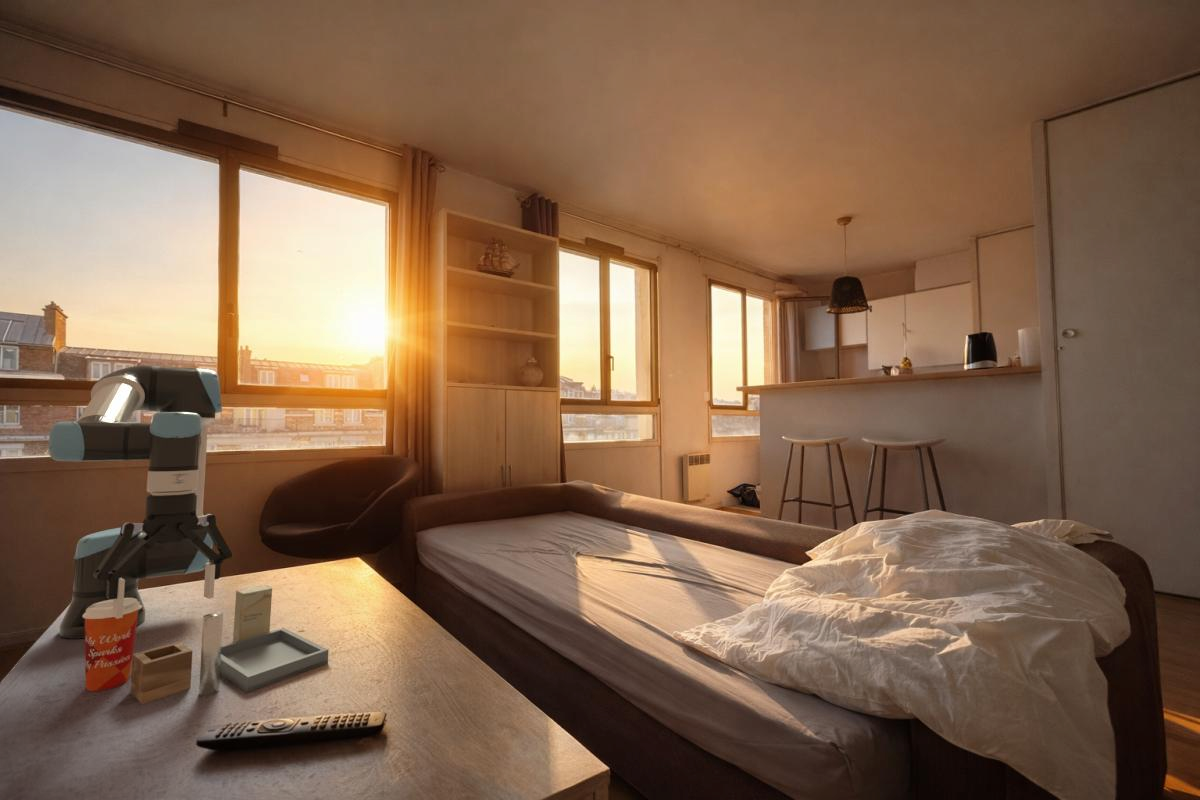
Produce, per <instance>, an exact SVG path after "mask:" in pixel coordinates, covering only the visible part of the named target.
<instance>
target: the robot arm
mask: <svg viewBox="0 0 1200 800" xmlns="http://www.w3.org/2000/svg"><path fill="white" fill-rule="evenodd" d="M90 399H91V400H90V401H89V403H88V404H87V406H86V407H85V409H84V410H83V411H82V413H81V415H80V416H79V418H78V420H77V421H76V420H70V421H59V422H55V423H54V424H53V425H52V427H51V429H50V431H49V438H48V452H49V456H50V458H51V459H53V460H54V461H57V462H75V463H81V462H105V461H106V462H107V461H112V462H113V461H114V462H115V461H148V469H147V471H148V472H147V480H146V492H148V493H150V494H149V495H147V496H146V497H145V513H144V514H145V515H144V520H143V521H142V522H128V521H124V522H123V523H122V524H121V525H120V527H116V528H111V529H106V530H102V531H97V532H94V533H90V534H88V535H85V536H83V537H82V538H80V539H79V540H78V542H77V544H76V549H75V553H74V556H73V559H74V568H73V569H74V571H73V572H74V573H73V584H72V586H73V587H72V599H71V601H70V603H69V605H68V608H67V610H66V612H65V614H64V615H63V616H64V617H63V618H62V620H61V622H60V626H59V633H58V634H59V636H60V637H61V638H64V639H85V618H83V617H82V616H83V614H84V613H85V612H86V609H87V608H88V607H90V606H91V605H92V604H95V603H98V602H102V601H106V600H112V599H114V601H113V616H114V617H115V618H117V619H118V618H123V603H124V598H135V599H137V601H138V602H140V605H141V606H142V608H141V609H139V610H138V617H137V625H136V627H137V626H138V625H140V624H142V623H144V622H145V621H146V608H145V605H144V604H143V600H142V597H141V595H140V593H139V589H138V588H139V580H142V579H143V580H144V579H152V578H158V577H168V576H175V575H187V574H191V573H192V574H193V573H197V572H201V571H204V585H203V588H204V589H203V597H205V598H206V599H214V595H215V580H218V579H220V577H221V567H222V566H221V564H222V563H224V561H225V560H227V559H231V558H232V557H233V552H232V551H231V549H230V547H229V546H228V544H227V542H226V540H225V538H224V536H223V535H222V533H221V532H220V529H219V528H218V526H217V521H216V520H217V519H216V515H215V514H211V513H206V514H204V498H205V495H204V494H205V482H206V480H205V479H206V463H207V445H208V443H207V442H208V428H209V425H210V424H211V423H212V422H213V421H215V420H216V413H217V414H219V413H222V412H223V407H222V394H221V387H220V378H219V374H218V373H217V372H216V371H215V370H212V369H206V368H205V369H204V368H198V367H195V368H194V367H177V366H161V365H145V364H144V365H134V366H130V367H129V366H128V367H124V368H121V369H118V370H115V371H113V372H111V373H108V374H106V375H104V376H103V377H101V378H99V380H97V381H96V382H95V384H94V385H93V387H92V388H91V391H90ZM136 411H151V412H153V411H154V412H155V411H156V412H155V413H154V414H153V415H152V417H151V422H130V421H131V418H132V416H133V413H134V412H136ZM213 545H214V546H215V547H216V550H217V551H218V553H216V552H215V550H213Z"/></svg>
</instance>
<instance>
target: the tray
mask: <svg viewBox="0 0 1200 800" xmlns="http://www.w3.org/2000/svg"><path fill="white" fill-rule="evenodd" d="M327 664H329V649H328V648H326V647H324V646H322V645H320V644H318V643H316V642H314V641H311V640H309V639H307V637H304V636H302V635H299V634H297V633H296V632H294V631H291V630H289V629H287V628H285V627H281V628H279V629H274V630H272V631H271V630H270V632H267V633H264V634H260V635H257V636H253V637H250V638H246V639H243V640H239V641H236V642H233V641H231V642H230V643H226V644H222V645H221V664H220V676H223V677H224V678H226V679H227V680H228V681H229V682H231V683H233V684H234V685H236V686H237V687H238V688H239V689H241V690H243V691H244V692H246V693H247V694H248V693H250V692H253V691H256V690H258V689H261V688H263V687H266V686H270V685H272V684H274V683H278V682H281V681H283V680H286V679H289V678H291V677H295V676H297V675H299V674H303V673H305V672H308V671H310V670H311V671H312V670H313V669H315V668H318V667H321V666H325V665H327Z"/></svg>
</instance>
